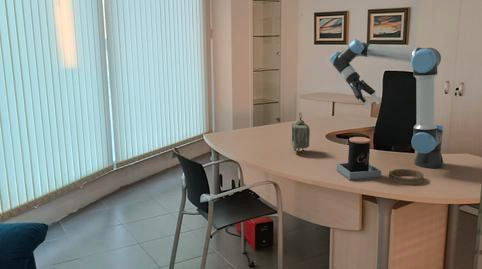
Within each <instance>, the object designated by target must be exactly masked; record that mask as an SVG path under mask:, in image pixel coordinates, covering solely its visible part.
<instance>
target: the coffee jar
mask: <svg viewBox="0 0 482 269" xmlns="http://www.w3.org/2000/svg"><path fill="white" fill-rule="evenodd" d="M370 143H371V138H368V137H365V136H353V137H349V143H348V156H347V157H348V158H347V163H348V171H350V172H362V171H369V164H370V152H371V151H370V150H371V144H370Z"/></svg>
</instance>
